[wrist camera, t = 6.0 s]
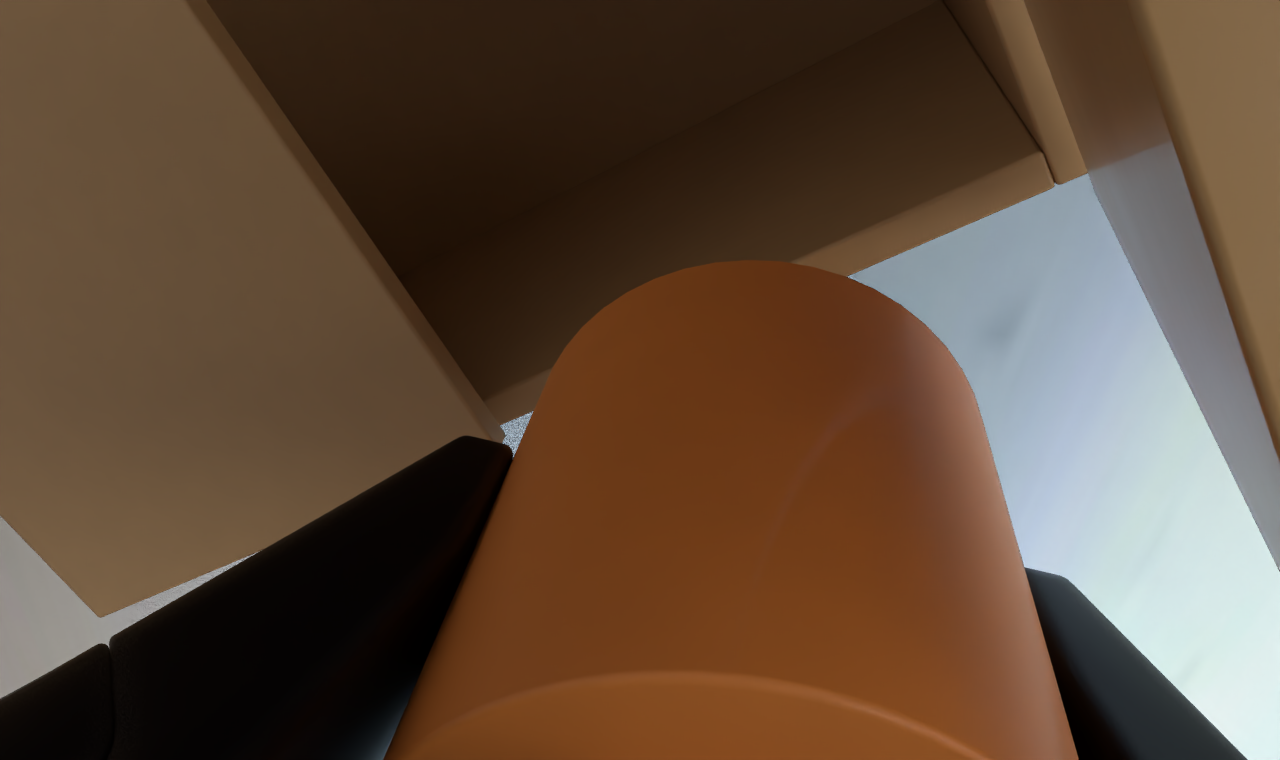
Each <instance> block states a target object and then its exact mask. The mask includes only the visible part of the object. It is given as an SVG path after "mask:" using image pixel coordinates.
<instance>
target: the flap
mask: <svg viewBox="0 0 1280 760" xmlns="http://www.w3.org/2000/svg"><path fill="white" fill-rule="evenodd" d="M1023 1H1024V3H1025V6H1026V9H1027V11H1028V14H1029V17H1030V19H1031V22H1032V25H1033V27H1034V30H1035V33H1036V35H1037V38H1038V41H1039V43H1040V46H1041V49H1042V51H1043V54H1044V57H1045V59H1046V62H1047V65H1048V68H1049V70H1050V73H1051V76H1052V78H1053V81H1054V84H1055V86H1056V89H1057V92H1058V94H1059V97H1060V100H1061V102H1062V105H1063V108H1064V110H1065V113H1066V116H1067V118H1068V121H1069V124H1070V126H1071V129H1072V132H1073V134H1074V137H1075V140H1076V143H1077V145H1078V148H1079V151H1080V153H1081V156H1082V159H1083V161H1084V164H1085V167H1086V169H1087V172H1088V175H1089V177H1090V180H1091V183H1092V185H1093V188H1094V191H1095V193H1096V196H1097V198H1098V200H1099V202H1100V204H1101V206H1102V208H1103V210H1104V212H1105V214H1106V216H1107V218H1108V220H1109V222H1110V224H1111V226H1112V229H1113V231H1114V233H1115V235H1116V237H1117V239H1118V241H1119V243H1120V245H1121V247H1122V249H1123V251H1124V253H1125V255H1126V257H1127V259H1128V261H1129V263H1130V265H1131V268H1132V270H1133V272H1134V274H1135V276H1136V278H1137V280H1138V282H1139V284H1140V286H1141V288H1142V290H1143V292H1144V294H1145V296H1146V298H1147V300H1148V302H1149V304H1150V306H1151V309H1152V311H1153V313H1154V315H1155V317H1156V319H1157V321H1158V323H1159V325H1160V327H1161V329H1162V331H1163V333H1164V335H1165V337H1166V339H1167V341H1168V343H1169V345H1170V348H1171V350H1172V352H1173V354H1174V356H1175V358H1176V360H1177V362H1178V364H1179V366H1180V368H1181V370H1182V372H1183V374H1184V376H1185V378H1186V380H1187V382H1188V384H1189V387H1190V389H1191V391H1192V393H1193V395H1194V397H1195V399H1196V401H1197V403H1198V405H1199V407H1200V409H1201V411H1202V413H1203V415H1204V417H1205V419H1206V421H1207V423H1208V426H1209V428H1210V430H1211V432H1212V434H1213V436H1214V438H1215V440H1216V442H1217V444H1218V446H1219V448H1220V450H1221V452H1222V454H1223V456H1224V458H1225V460H1226V462H1227V464H1228V467H1229V469H1230V471H1231V473H1232V475H1233V477H1234V479H1235V481H1236V483H1237V485H1238V487H1239V489H1240V491H1241V493H1242V495H1243V497H1244V499H1245V501H1246V503H1247V506H1248V508H1249V510H1250V512H1251V514H1252V516H1253V518H1254V520H1255V522H1256V524H1257V526H1258V528H1259V530H1260V532H1261V534H1262V536H1263V538H1264V540H1265V542H1266V545H1267V547H1268V549H1269V551H1270V553H1271V555H1272V557H1273V559H1274V561H1275V563H1276V565H1277V567H1278V569H1279V571H1280V0H1023Z"/></svg>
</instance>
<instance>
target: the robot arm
mask: <svg viewBox="0 0 1280 760" xmlns="http://www.w3.org/2000/svg"><path fill="white" fill-rule="evenodd" d="M512 460H513V453H512V450H511V448H510V447H509V446H508V445H506V444H502V443H498V442H494V441H490V440H486V439H481V438H477V437H473V436H468V435H465V436H461V437H458V438H456V439H454V440H453V441H451V442H449V443H447V444H446V445H444V446H442V447H440V448H439V449H437V450H435V451H434V452H432V453H430V454H428V455H427V456H425V457H423V458H421V459H420V460H418V461H416V462H414V463H413V464H411V465H409V466H407V467H406V468H404V469H402V470H400V471H399V472H397V473H395V474H394V475H392V476H390V477H388V478H387V479H385V480H383V481H381V482H380V483H378V484H376V485H374V486H373V487H371V488H369V489H367V490H366V491H364V492H362V493H361V494H359V495H357V496H355V497H354V498H352V499H350V500H348V501H347V502H345V503H343V504H341V505H340V506H338V507H336V508H334V509H333V510H331V511H329V512H328V513H326V514H324V515H322V516H321V517H319V518H317V519H315V520H314V521H312V522H310V523H308V524H307V525H305V526H303V527H301V528H300V529H298V530H296V531H294V532H293V533H291V534H289V535H288V536H286V537H284V538H282V539H281V540H279V541H277V542H275V543H274V544H272V545H270V546H268V547H267V548H265V549H263V550H261V551H260V552H258V553H256V554H255V555H253V556H251V557H249V558H248V559H246V560H244V561H242V562H241V563H239V564H237V565H235V566H234V567H232V568H230V569H228V570H227V571H225V572H223V573H221V574H220V575H218V576H216V577H215V578H213V579H211V580H209V581H208V582H206V583H204V584H202V585H201V586H199V587H197V588H195V589H194V590H192V591H190V592H188V593H187V594H185V595H183V596H182V597H180V598H178V599H176V600H175V601H173V602H171V603H169V604H168V605H166V606H164V607H162V608H161V609H159V610H157V611H155V612H154V613H152V614H150V615H149V616H147V617H145V618H143V619H142V620H140V621H138V622H136V623H135V624H133V625H131V626H129V627H128V628H126V629H124V630H122V631H121V632H119V633H117V634H115V635H114V636H112V637H111V639H110V641H109V647H108V646H107V645H106V644H97V645H96V646H94V647H92V648H90V649H89V650H87V651H85V652H83V653H82V654H80V655H78V656H76V657H75V658H73V659H71V660H69V661H68V662H66V663H64V664H62V665H61V666H59V667H57V668H55V669H54V670H52V671H50V672H49V673H47V674H45V675H43V676H41V677H39V678H38V679H36V680H34V681H32V682H30V683H28V684H27V685H25V686H23V687H21V688H19V689H17V690H16V691H14V692H12V693H10V694H8V695H6V696H5V697H3V698H1V699H0V760H383V759H384V756H385V754H386V752H387V750H388V747H389V745H390V743H391V740H392V738H393V736H394V733H395V731H396V729H397V726H398V724H399V722H400V719H401V717H402V715H403V713H404V710H405V708H406V706H407V703H408V701H409V699H410V696H411V694H412V692H413V689H414V687H415V685H416V682H417V680H418V678H419V675H420V673H421V671H422V669H423V666H424V664H425V662H426V659H427V657H428V655H429V652H430V650H431V648H432V645H433V643H434V641H435V638H436V636H437V634H438V632H439V629H440V627H441V625H442V622H443V620H444V618H445V615H446V613H447V611H448V608H449V606H450V604H451V601H452V599H453V597H454V595H455V592H456V590H457V588H458V585H459V583H460V581H461V578H462V576H463V574H464V571H465V569H466V567H467V564H468V562H469V560H470V557H471V555H472V553H473V551H474V548H475V546H476V544H477V541H478V539H479V537H480V534H481V532H482V530H483V527H484V525H485V523H486V520H487V518H488V516H489V514H490V511H491V509H492V507H493V504H494V502H495V500H496V497H497V495H498V493H499V490H500V488H501V486H502V483H503V481H504V479H505V476H506V474H507V472H508V470H509V467H510V465H511V463H512ZM1024 568H1025V567H1024ZM1025 572H1026V575H1027V579H1028V582H1029V586H1030V589H1031V593H1032V596H1033V600H1034V603H1035V607H1036V610H1037V614H1038V617H1039V621H1040V625H1041V628H1042V632H1043V635H1044V639H1045V642H1046V646H1047V649H1048V653H1049V656H1050V660H1051V663H1052V667H1053V670H1054V674H1055V677H1056V681H1057V684H1058V688H1059V692H1060V695H1061V699H1062V702H1063V706H1064V709H1065V713H1066V716H1067V720H1068V723H1069V727H1070V730H1071V734H1072V737H1073V741H1074V744H1075V748H1076V751H1077V755H1078V758H1079V760H1247V759H1246V758H1245V757H1244V756H1243V755H1242V754H1241V753H1240V752H1239V751H1238V750H1237V749H1236V748H1235V747H1234V746H1233V745H1232V744H1231V743H1230V742H1229V741H1228V740H1227V739H1226V738H1225V737H1224V736H1223V734H1222V733H1221V732H1220V731H1219V730H1218V729H1217V728H1216V727H1215V726H1214V725H1213V724H1212V723H1211V722H1210V721H1209V720H1208V719H1207V718H1206V717H1205V716H1204V715H1203V714H1202V713H1201V712H1200V711H1199V710H1198V709H1197V708H1196V707H1195V706H1194V705H1193V704H1192V703H1191V702H1190V701H1189V700H1188V699H1187V698H1186V697H1185V696H1184V695H1183V694H1182V693H1181V692H1180V691H1179V690H1178V689H1177V688H1176V687H1175V686H1174V685H1173V684H1172V683H1171V682H1170V681H1169V680H1168V679H1167V678H1166V677H1165V676H1164V675H1163V674H1162V673H1161V672H1160V671H1159V670H1158V669H1157V668H1156V667H1155V666H1154V665H1153V664H1152V663H1151V662H1150V661H1149V660H1148V659H1147V658H1146V657H1145V656H1144V655H1143V654H1142V653H1141V652H1140V651H1139V650H1138V649H1137V648H1136V647H1135V646H1134V645H1133V644H1132V643H1131V642H1130V641H1129V640H1128V639H1127V638H1126V637H1125V636H1124V635H1123V634H1122V633H1121V632H1120V631H1119V630H1118V629H1117V628H1116V627H1115V626H1114V625H1113V624H1112V623H1111V622H1110V621H1109V620H1108V619H1107V618H1106V617H1105V616H1104V615H1103V614H1102V613H1101V612H1100V611H1099V610H1098V609H1097V608H1096V607H1095V606H1094V605H1093V604H1092V603H1091V602H1090V601H1089V600H1088V599H1087V598H1086V597H1085V596H1084V595H1083V594H1082V593H1081V592H1080V591H1079V590H1078V589H1077V588H1076V587H1075V586H1074V585H1073V584H1072V583H1071V582H1070V581H1069V580H1068V579H1066V578H1064V577H1062V576H1059V575H1055V574H1051V573H1046V572H1042V571H1038V570H1034V569H1029V568H1025Z"/></svg>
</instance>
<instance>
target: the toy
mask: <svg viewBox="0 0 1280 760" xmlns="http://www.w3.org/2000/svg"><path fill="white" fill-rule="evenodd" d="M383 760H1079V758H1078V755H1077V751H1076V748H1075V744H1074V741H1073V737H1072V734H1071V730H1070V727H1069V723H1068V720H1067V716H1066V713H1065V709H1064V706H1063V702H1062V699H1061V695H1060V692H1059V688H1058V684H1057V681H1056V677H1055V674H1054V670H1053V667H1052V663H1051V660H1050V656H1049V653H1048V649H1047V646H1046V642H1045V639H1044V635H1043V632H1042V628H1041V625H1040V621H1039V617H1038V614H1037V610H1036V607H1035V603H1034V600H1033V596H1032V593H1031V589H1030V586H1029V582H1028V579H1027V575H1026V572H1025V568H1024V565H1023V561H1022V558H1021V554H1020V550H1019V547H1018V543H1017V540H1016V536H1015V533H1014V529H1013V526H1012V522H1011V519H1010V515H1009V512H1008V508H1007V505H1006V501H1005V498H1004V494H1003V491H1002V487H1001V484H1000V480H999V476H998V473H997V469H996V466H995V462H994V459H993V455H992V452H991V448H990V445H989V441H988V438H987V434H986V431H985V427H984V424H983V420H982V417H981V414H980V410H979V407H978V404H977V401H976V398H975V394H974V392H973V390H972V388H971V386H970V384H969V382H968V380H967V378H966V376H965V374H964V372H963V370H962V368H961V367H960V366H959V364H958V363H957V361H956V360H955V358H954V357H953V356H952V354H951V353H950V351H949V350H948V348H947V347H946V346H945V345H944V344H943V343H942V341H941V340H940V339H939V338H938V337H937V336H936V335H935V334H934V333H933V332H932V331H931V330H930V329H929V328H928V327H927V326H926V325H925V324H924V323H923V322H922V321H920V320H919V319H918V318H917V317H915V316H914V315H913V314H912V313H910V312H909V311H908V310H907V309H905V308H904V307H903V306H902V305H900V304H898V303H897V302H895V301H893V300H892V299H890V298H888V297H887V296H885V295H883V294H882V293H880V292H878V291H877V290H875V289H873V288H871V287H868V286H866V285H864V284H862V283H859V282H857V281H855V280H852V279H850V278H848V277H846V276H843V275H839V274H836V273H832V272H829V271H826V270H822V269H819V268H815V267H811V266H805V265H799V264H793V263H787V262H781V261H760V260H741V261H728V262H715V263H710V264H705V265H701V266H696V267H691V268H686V269H682V270H679V271H676V272H673V273H670V274H667V275H664V276H661V277H658V278H655V279H653V280H651V281H649V282H647V283H645V284H643V285H641V286H639V287H637V288H635V289H633V290H631V291H629V292H627V293H625V294H624V295H622V296H621V297H619V298H618V299H616V300H615V301H613V302H612V303H610V304H609V305H607V306H606V307H604V308H603V309H602V310H601V311H600V312H598V313H597V314H596V315H595V316H594V317H593V318H592V319H591V320H589V321H588V322H587V323H586V324H585V325H584V326H583V327H582V328H581V329H580V330H579V331H578V333H577V334H576V335H575V336H574V337H573V339H572V340H571V341H570V342H569V343H568V345H567V346H566V347H565V349H564V350H563V352H562V353H561V355H560V357H559V358H558V360H557V362H556V363H555V365H554V367H553V368H552V370H551V372H550V375H549V377H548V379H547V382H546V384H545V386H544V389H543V391H542V393H541V395H540V398H539V400H538V402H537V405H536V407H535V409H534V412H533V414H532V416H531V419H530V421H529V423H528V426H527V428H526V430H525V433H524V435H523V437H522V439H521V442H520V444H519V446H518V449H517V451H516V453H515V456H514V458H513V460H512V463H511V465H510V467H509V470H508V472H507V474H506V476H505V479H504V481H503V483H502V486H501V488H500V490H499V493H498V495H497V497H496V500H495V502H494V504H493V507H492V509H491V511H490V514H489V516H488V518H487V520H486V523H485V525H484V527H483V530H482V532H481V534H480V537H479V539H478V541H477V544H476V546H475V548H474V551H473V553H472V555H471V557H470V560H469V562H468V564H467V567H466V569H465V571H464V574H463V576H462V578H461V581H460V583H459V585H458V588H457V590H456V592H455V595H454V597H453V599H452V601H451V604H450V606H449V608H448V611H447V613H446V615H445V618H444V620H443V622H442V625H441V627H440V629H439V632H438V634H437V636H436V638H435V641H434V643H433V645H432V648H431V650H430V652H429V655H428V657H427V659H426V662H425V664H424V666H423V669H422V671H421V673H420V675H419V678H418V680H417V682H416V685H415V687H414V689H413V692H412V694H411V696H410V699H409V701H408V703H407V706H406V708H405V710H404V713H403V715H402V717H401V719H400V722H399V724H398V726H397V729H396V731H395V733H394V736H393V738H392V740H391V743H390V745H389V747H388V750H387V752H386V754H385V756H384V759H383Z"/></svg>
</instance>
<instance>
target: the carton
mask: <svg viewBox="0 0 1280 760" xmlns="http://www.w3.org/2000/svg"><path fill="white" fill-rule="evenodd" d="M1087 173H1088V172H1087V169H1086V167H1085V164H1084V161H1083V159H1082V156H1081V153H1080V151H1079V148H1078V145H1077V143H1076V140H1075V137H1074V134H1073V132H1072V129H1071V126H1070V124H1069V121H1068V118H1067V116H1066V113H1065V110H1064V108H1063V105H1062V102H1061V100H1060V97H1059V94H1058V92H1057V89H1056V86H1055V84H1054V81H1053V78H1052V76H1051V73H1050V70H1049V68H1048V65H1047V62H1046V59H1045V57H1044V54H1043V51H1042V49H1041V46H1040V43H1039V41H1038V38H1037V35H1036V33H1035V30H1034V27H1033V25H1032V22H1031V19H1030V17H1029V14H1028V11H1027V9H1026V6H1025V3H1024V1H1023V0H0V516H1V517H2V518H3V519H4V520H5V521H6V522H7V523H8V524H9V525H10V526H11V527H12V528H13V529H14V530H15V531H16V532H17V533H18V534H19V535H20V536H21V538H22V539H23V540H24V541H25V542H26V543H27V544H28V545H29V546H30V547H31V548H32V549H33V550H34V551H35V552H36V553H37V554H38V555H39V556H40V557H41V558H42V559H43V560H44V561H45V562H46V563H47V564H48V566H49V567H50V568H51V569H52V570H53V571H54V572H55V573H56V574H57V575H58V576H59V577H60V578H61V579H62V580H63V581H64V582H65V583H66V584H67V585H68V586H69V587H70V588H71V589H72V590H73V591H74V592H75V594H76V595H77V596H78V597H79V598H80V599H81V600H82V601H83V602H84V603H85V604H86V605H87V606H88V607H89V608H90V609H91V610H92V611H93V612H94V613H95V614H96V615H97V616H98V617H100V618H101V617H104V616H106V615H108V614H111V613H113V612H115V611H118V610H120V609H123V608H125V607H127V606H130V605H132V604H135V603H137V602H139V601H142V600H144V599H147V598H149V597H151V596H154V595H156V594H158V593H161V592H163V591H166V590H168V589H170V588H173V587H175V586H178V585H180V584H182V583H185V582H187V581H189V580H192V579H194V578H197V577H199V576H201V575H204V574H206V573H209V572H211V571H213V570H216V569H218V568H220V567H223V566H225V565H228V564H230V563H232V562H235V561H237V560H240V559H242V558H244V557H247V556H249V555H252V554H254V553H256V552H259V551H261V550H263V549H265V548H267V547H268V546H270V545H272V544H274V543H275V542H277V541H279V540H281V539H282V538H284V537H286V536H288V535H289V534H291V533H293V532H294V531H296V530H298V529H300V528H301V527H303V526H305V525H307V524H308V523H310V522H312V521H314V520H315V519H317V518H319V517H321V516H322V515H324V514H326V513H328V512H329V511H331V510H333V509H334V508H336V507H338V506H340V505H341V504H343V503H345V502H347V501H348V500H350V499H352V498H354V497H355V496H357V495H359V494H361V493H362V492H364V491H366V490H367V489H369V488H371V487H373V486H374V485H376V484H378V483H380V482H381V481H383V480H385V479H387V478H388V477H390V476H392V475H394V474H395V473H397V472H399V471H400V470H402V469H404V468H406V467H407V466H409V465H411V464H413V463H414V462H416V461H418V460H420V459H421V458H423V457H425V456H427V455H428V454H430V453H432V452H434V451H435V450H437V449H439V448H440V447H442V446H444V445H446V444H447V443H449V442H451V441H453V440H454V439H456V438H458V437H461V436H465V435H468V436H473V437H477V438H481V439H486V440H490V441H494V442H498V443H502V442H503V440H504V438H505V433H504V431H503V430H502V428H501V427H500V425H502V424H504V423H506V422H509V421H511V420H513V419H516V418H518V417H520V416H523V415H525V414H527V413H530V412H532V411H534V409H535V407H536V405H537V402H538V400H539V398H540V395H541V393H542V391H543V389H544V386H545V384H546V382H547V379H548V377H549V375H550V372H551V370H552V368H553V367H554V365H555V363H556V362H557V360H558V358H559V357H560V355H561V353H562V352H563V350H564V349H565V347H566V346H567V345H568V343H569V342H570V341H571V340H572V339H573V337H574V336H575V335H576V334H577V333H578V331H579V330H580V329H581V328H582V327H583V326H584V325H585V324H586V323H587V322H588V321H589V320H591V319H592V318H593V317H594V316H595V315H596V314H597V313H598V312H600V311H601V310H602V309H603V308H604V307H606V306H607V305H609V304H610V303H612V302H613V301H615V300H616V299H618V298H619V297H621V296H622V295H624V294H625V293H627V292H629V291H631V290H633V289H635V288H637V287H639V286H641V285H643V284H645V283H647V282H649V281H651V280H653V279H655V278H658V277H661V276H664V275H667V274H670V273H673V272H676V271H679V270H682V269H686V268H691V267H696V266H701V265H705V264H710V263H715V262H728V261H741V260H760V261H781V262H787V263H793V264H799V265H805V266H811V267H815V268H819V269H822V270H826V271H829V272H832V273H836V274H839V275H843V276H846V277H847V276H849V275H851V274H854V273H856V272H858V271H861V270H863V269H865V268H868V267H870V266H872V265H875V264H877V263H879V262H882V261H884V260H886V259H889V258H891V257H893V256H896V255H898V254H900V253H903V252H905V251H907V250H909V249H912V248H914V247H916V246H919V245H921V244H923V243H926V242H928V241H930V240H933V239H935V238H937V237H940V236H942V235H944V234H947V233H949V232H951V231H954V230H956V229H958V228H961V227H963V226H965V225H968V224H970V223H972V222H975V221H977V220H979V219H982V218H984V217H986V216H989V215H991V214H993V213H996V212H998V211H1000V210H1003V209H1005V208H1007V207H1010V206H1012V205H1014V204H1017V203H1019V202H1021V201H1024V200H1026V199H1028V198H1031V197H1033V196H1035V195H1038V194H1040V193H1042V192H1045V191H1047V190H1049V189H1051V188H1053V187H1054V183H1056V184H1058V185H1059V184H1063V183H1066V182H1068V181H1070V180H1073V179H1075V178H1077V177H1080V176H1082V175H1084V174H1087Z"/></svg>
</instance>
